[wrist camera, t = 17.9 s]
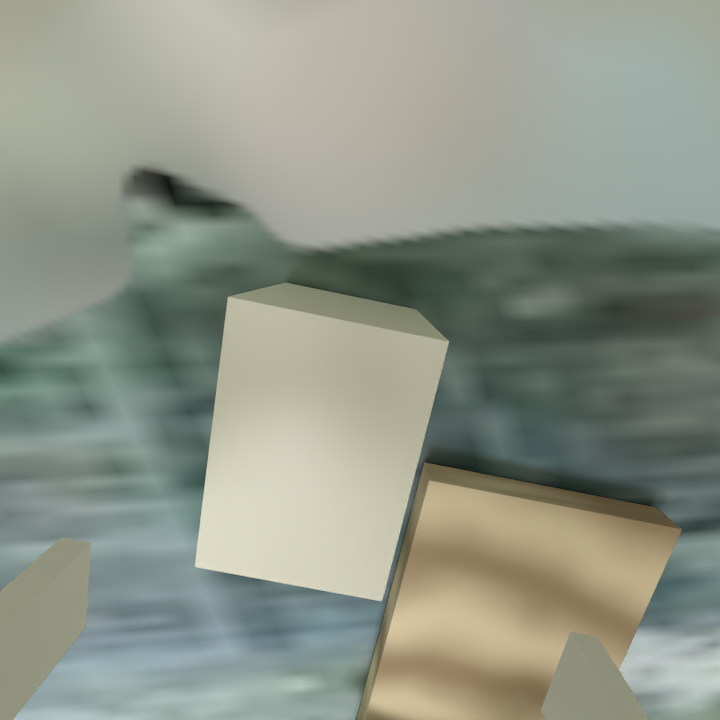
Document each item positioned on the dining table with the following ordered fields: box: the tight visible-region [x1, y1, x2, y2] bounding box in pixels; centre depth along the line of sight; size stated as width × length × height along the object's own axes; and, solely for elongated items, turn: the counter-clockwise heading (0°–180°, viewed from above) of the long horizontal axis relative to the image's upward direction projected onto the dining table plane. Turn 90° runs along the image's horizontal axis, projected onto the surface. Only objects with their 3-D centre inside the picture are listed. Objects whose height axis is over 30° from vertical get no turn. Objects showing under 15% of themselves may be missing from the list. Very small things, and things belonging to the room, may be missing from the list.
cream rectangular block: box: [195, 283, 449, 601], centre depth 18 cm, size 13×7×9 cm, turn 169°
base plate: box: [357, 462, 682, 720], centre depth 26 cm, size 26×14×2 cm, turn 169°
